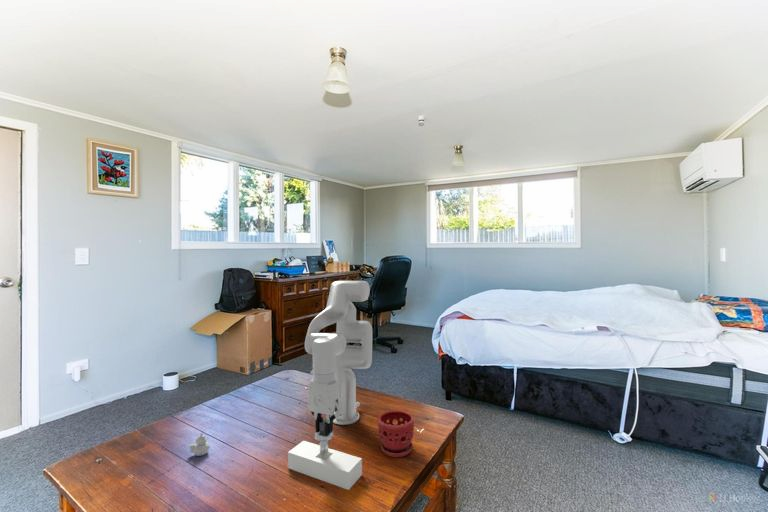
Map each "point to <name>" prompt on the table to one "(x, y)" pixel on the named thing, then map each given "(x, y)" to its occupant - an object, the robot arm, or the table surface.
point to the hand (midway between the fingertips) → (324, 431)
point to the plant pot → (396, 433)
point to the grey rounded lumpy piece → (200, 446)
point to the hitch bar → (325, 464)
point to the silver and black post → (323, 437)
